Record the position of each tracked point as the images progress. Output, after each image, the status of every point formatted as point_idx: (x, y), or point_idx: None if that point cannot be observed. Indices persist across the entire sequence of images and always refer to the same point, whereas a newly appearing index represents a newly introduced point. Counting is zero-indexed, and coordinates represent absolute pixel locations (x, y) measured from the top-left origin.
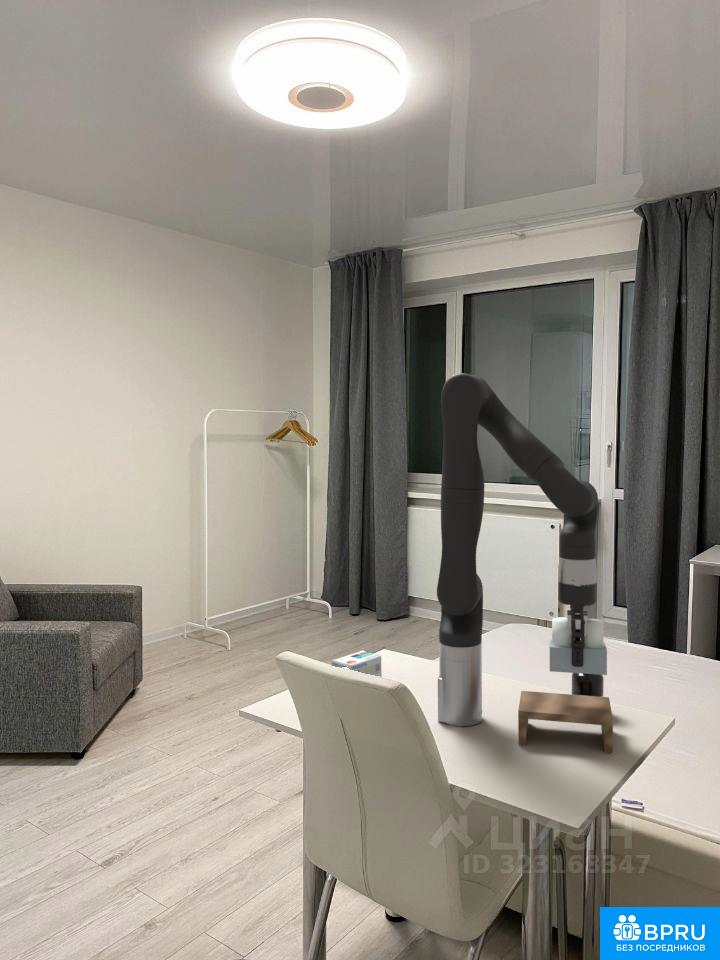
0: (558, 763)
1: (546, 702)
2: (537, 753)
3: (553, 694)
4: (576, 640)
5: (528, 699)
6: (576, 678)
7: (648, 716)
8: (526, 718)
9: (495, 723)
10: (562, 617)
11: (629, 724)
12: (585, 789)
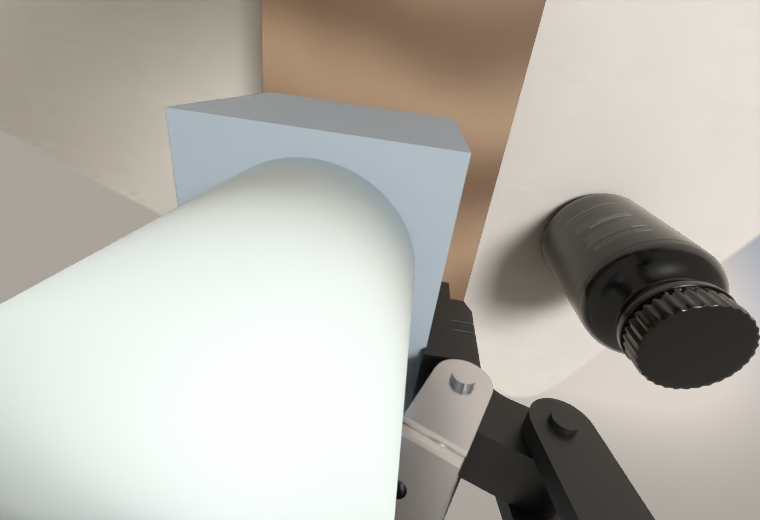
0: (208, 86)
1: (388, 75)
2: (258, 24)
3: (492, 123)
4: (417, 384)
5: None
6: (627, 254)
7: (543, 373)
8: None
9: None
10: None
11: (491, 321)
12: (90, 136)
